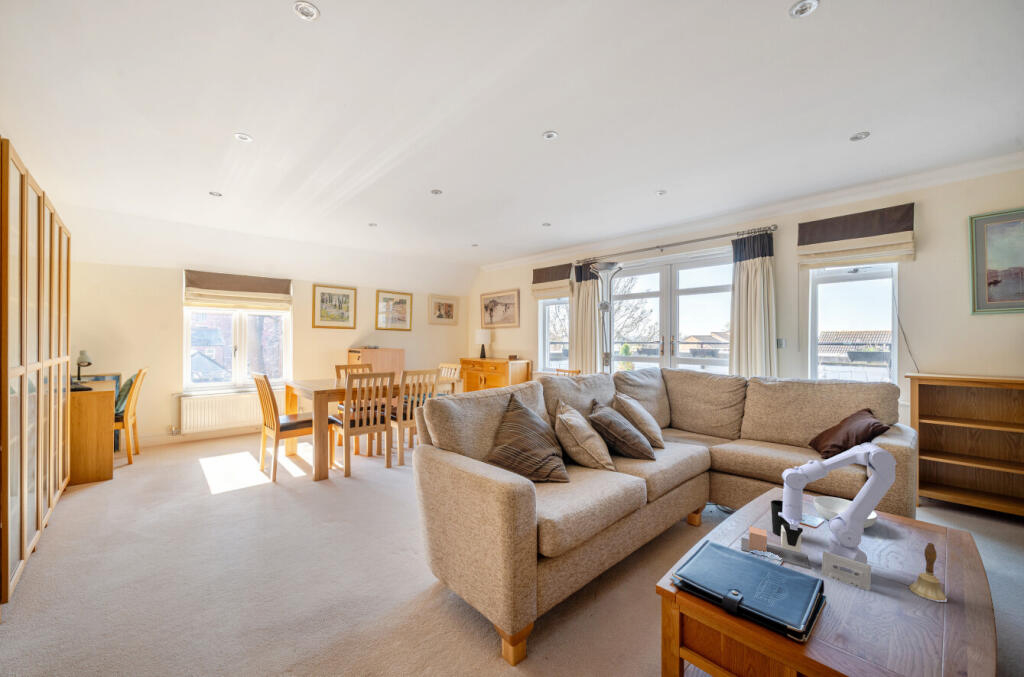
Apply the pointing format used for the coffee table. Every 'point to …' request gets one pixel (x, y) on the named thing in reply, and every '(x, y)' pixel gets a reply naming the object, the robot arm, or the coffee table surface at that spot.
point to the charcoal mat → (781, 554)
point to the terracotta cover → (757, 539)
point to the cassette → (845, 576)
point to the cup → (776, 516)
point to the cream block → (785, 543)
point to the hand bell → (928, 578)
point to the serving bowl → (838, 508)
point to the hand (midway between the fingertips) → (790, 541)
